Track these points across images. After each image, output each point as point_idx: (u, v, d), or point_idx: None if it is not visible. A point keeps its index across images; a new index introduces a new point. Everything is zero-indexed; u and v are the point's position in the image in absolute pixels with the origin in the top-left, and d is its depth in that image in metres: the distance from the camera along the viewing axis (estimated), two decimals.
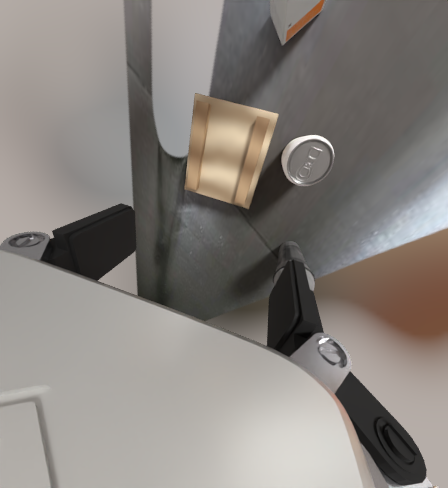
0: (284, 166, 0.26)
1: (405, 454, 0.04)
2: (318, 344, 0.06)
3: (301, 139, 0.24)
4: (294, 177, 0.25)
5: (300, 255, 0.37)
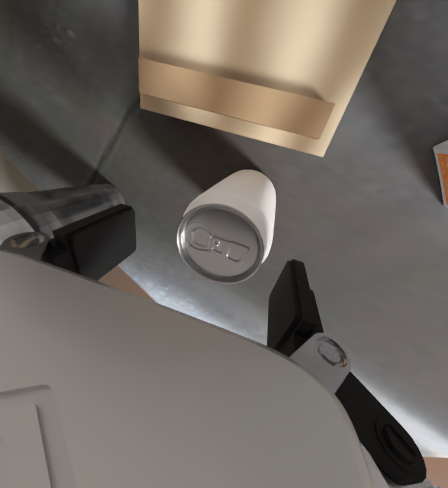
0: (213, 193, 0.11)
1: (405, 454, 0.04)
2: (318, 344, 0.06)
3: (266, 224, 0.11)
4: (189, 220, 0.11)
5: None
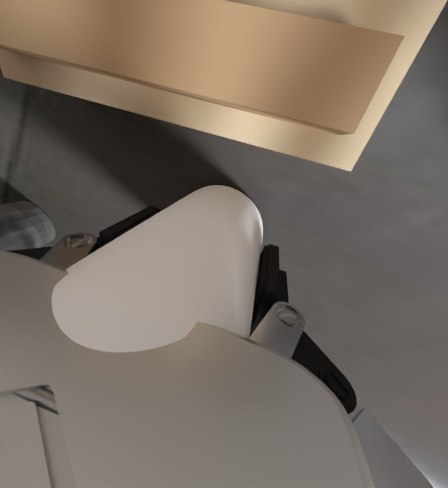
0: (52, 298, 0.04)
1: (339, 392, 0.05)
2: (279, 311, 0.07)
3: None
4: None
5: None
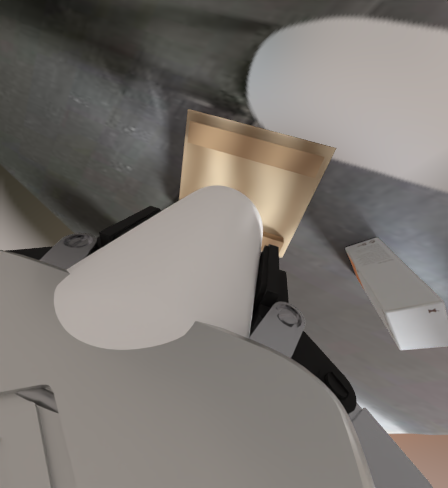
0: None
1: (339, 392, 0.05)
2: (279, 311, 0.07)
3: None
4: None
5: None
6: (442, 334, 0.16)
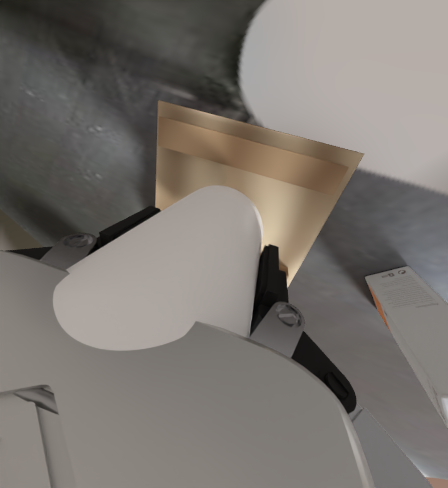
0: None
1: (339, 392, 0.05)
2: (279, 311, 0.07)
3: None
4: None
5: None
6: None
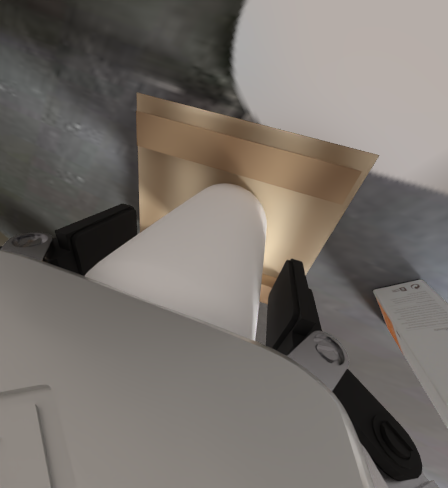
0: (115, 268, 0.05)
1: (401, 450, 0.04)
2: (316, 342, 0.06)
3: (237, 333, 0.05)
4: None
5: None
6: None
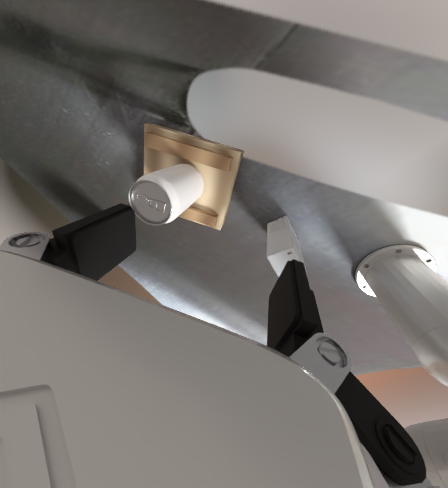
0: (146, 175, 0.22)
1: (405, 454, 0.04)
2: (318, 344, 0.06)
3: (173, 191, 0.22)
4: (134, 189, 0.22)
5: None
6: None
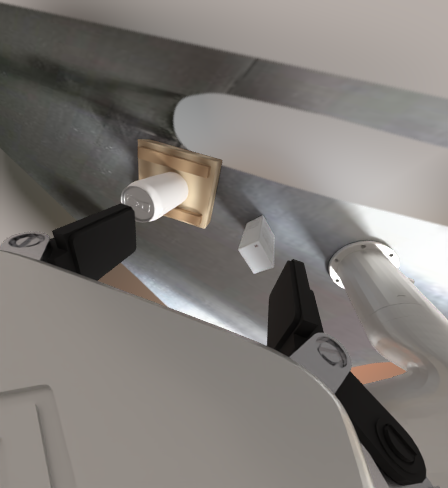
0: (134, 182, 0.27)
1: (405, 454, 0.04)
2: (318, 344, 0.06)
3: (156, 194, 0.27)
4: (125, 193, 0.27)
5: None
6: (266, 260, 0.31)
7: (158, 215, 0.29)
